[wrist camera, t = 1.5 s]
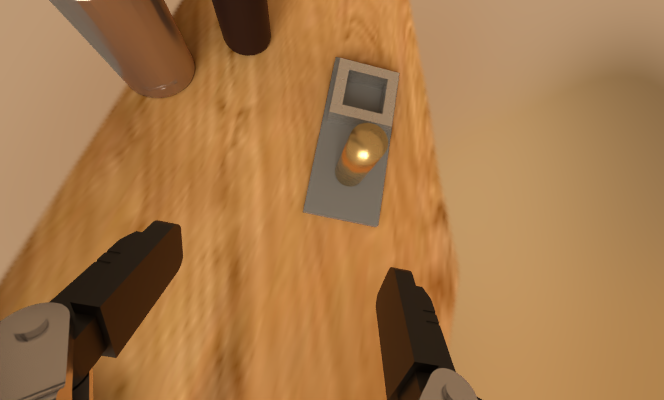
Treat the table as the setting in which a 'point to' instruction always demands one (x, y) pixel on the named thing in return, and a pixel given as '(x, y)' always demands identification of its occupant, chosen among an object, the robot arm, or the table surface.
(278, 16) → the table surface
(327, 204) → the grey base plate
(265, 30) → the bottle
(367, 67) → the collar
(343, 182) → the pin
